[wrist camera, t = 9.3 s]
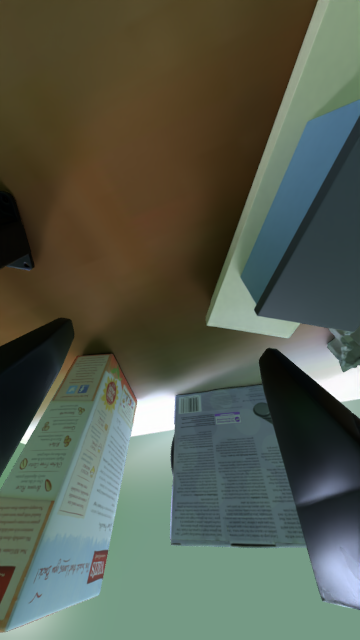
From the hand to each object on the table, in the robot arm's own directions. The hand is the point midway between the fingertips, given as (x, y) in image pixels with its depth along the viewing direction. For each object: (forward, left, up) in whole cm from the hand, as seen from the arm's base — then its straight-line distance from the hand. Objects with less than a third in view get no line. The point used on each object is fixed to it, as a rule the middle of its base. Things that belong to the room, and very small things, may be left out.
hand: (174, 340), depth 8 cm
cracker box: (-7, -23, -12) cm, 27 cm away
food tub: (+8, +5, -8) cm, 13 cm away
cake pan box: (+13, -24, -12) cm, 29 cm away
